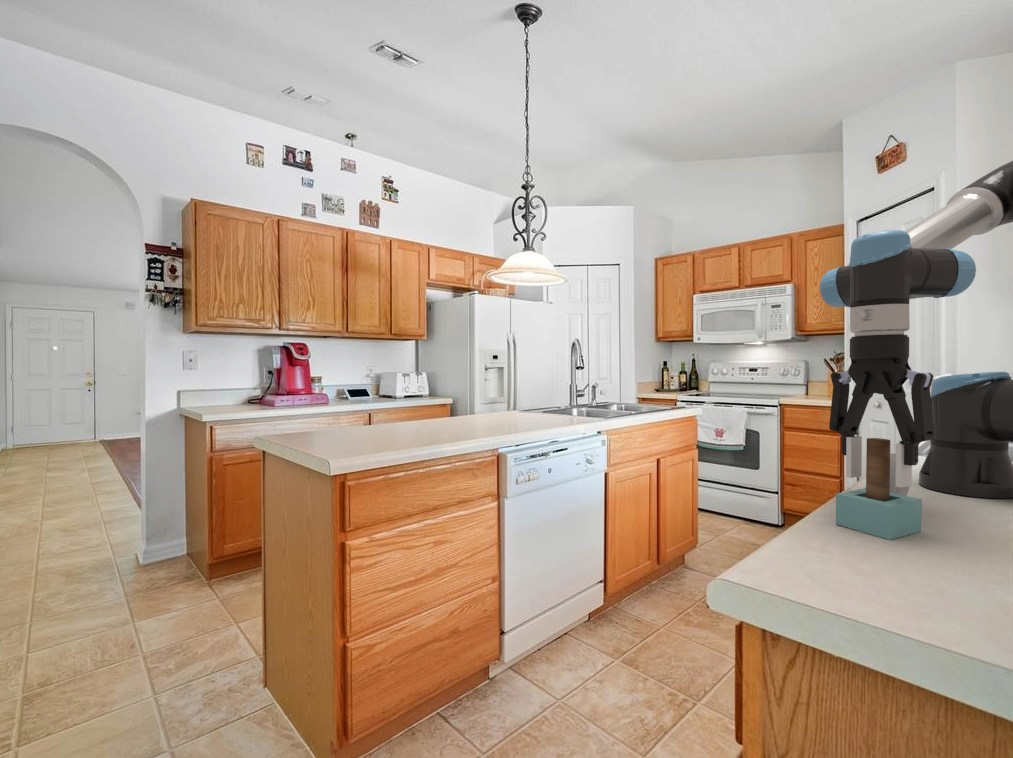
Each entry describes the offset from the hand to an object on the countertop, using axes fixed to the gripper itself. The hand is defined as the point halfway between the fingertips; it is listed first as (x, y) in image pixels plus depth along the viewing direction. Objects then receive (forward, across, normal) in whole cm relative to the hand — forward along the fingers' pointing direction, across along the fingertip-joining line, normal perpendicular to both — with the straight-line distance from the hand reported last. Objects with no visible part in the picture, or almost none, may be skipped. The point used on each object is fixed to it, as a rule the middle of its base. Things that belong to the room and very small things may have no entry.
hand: (877, 480), depth 80 cm
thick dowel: (+7, 0, 0) cm, 7 cm away
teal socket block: (+7, 0, 0) cm, 7 cm away
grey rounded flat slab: (+8, -5, +12) cm, 15 cm away
